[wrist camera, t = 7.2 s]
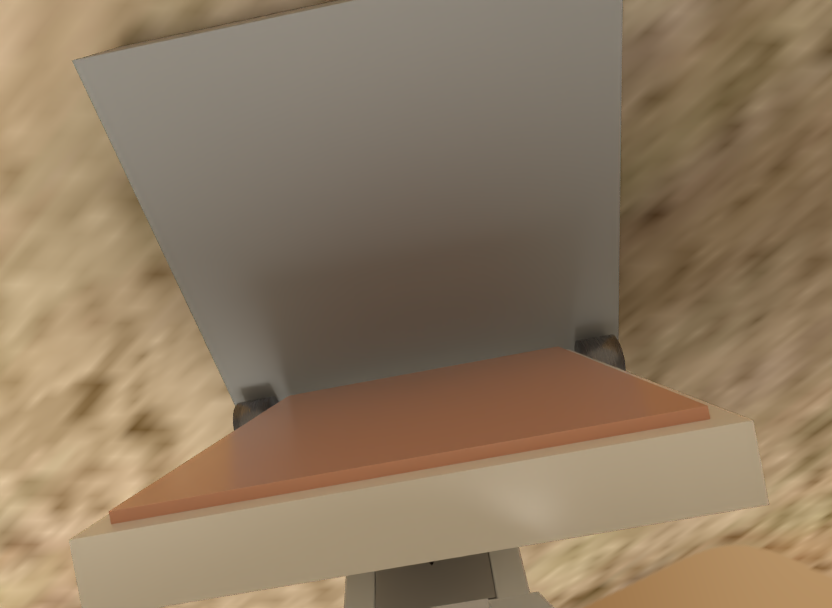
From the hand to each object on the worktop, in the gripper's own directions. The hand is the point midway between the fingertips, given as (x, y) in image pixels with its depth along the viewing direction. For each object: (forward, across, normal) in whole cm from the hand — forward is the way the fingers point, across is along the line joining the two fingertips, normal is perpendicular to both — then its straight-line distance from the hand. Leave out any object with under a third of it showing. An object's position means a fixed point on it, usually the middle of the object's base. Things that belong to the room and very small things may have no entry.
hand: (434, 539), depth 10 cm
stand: (+12, 0, +2) cm, 12 cm away
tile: (+3, 0, +1) cm, 3 cm away
